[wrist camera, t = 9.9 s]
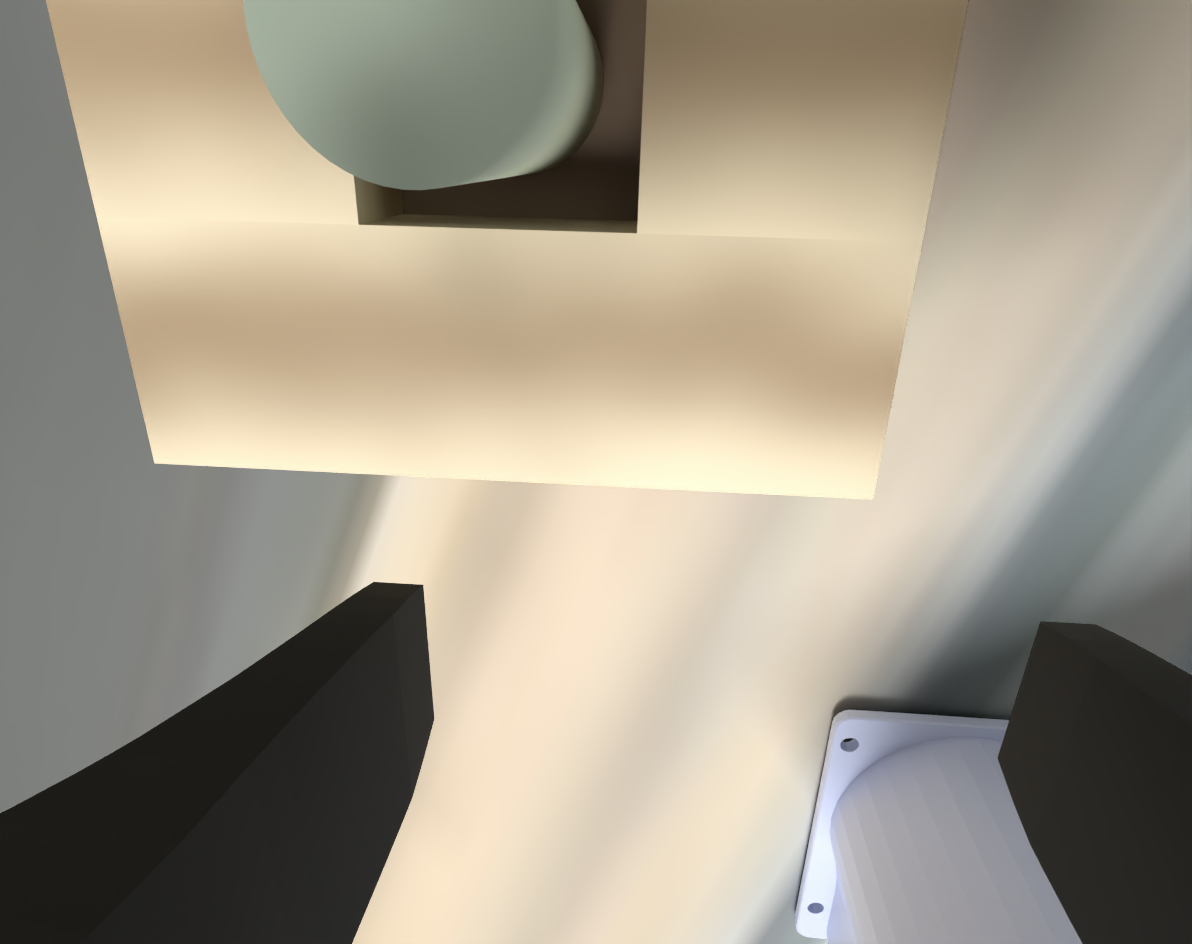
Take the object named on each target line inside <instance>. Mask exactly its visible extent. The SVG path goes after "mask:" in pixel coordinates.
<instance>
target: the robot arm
mask: <svg viewBox="0 0 1192 944" xmlns="http://www.w3.org/2000/svg"><path fill="white" fill-rule="evenodd" d="M433 721H434V711H433V699H432V687H431V675H430V663H429V651H428V639H427V627H426V615H425V603H424V591H423V585H414V584H397V583H380V582H373V583H371V584H370V585H368V586H367V587H365V588H363V589H362V590H360V591H359V592H357V593H355V594H354V595H352V596H351V597H350V598H348V599H347V600H345V601H344V602H342V603H341V604H339V605H338V606H336V607H335V608H334V609H332V610H331V611H329V612H328V613H326V614H325V615H324V616H322V617H321V618H319V619H318V620H316V621H315V622H314V623H312V624H311V625H309V626H308V627H306V628H305V629H304V630H302V631H301V632H299V633H298V634H296V635H295V636H294V637H292V638H291V639H289V640H288V641H286V642H285V643H283V644H282V645H280V646H279V647H278V648H276V649H275V650H273V651H272V652H270V653H269V654H267V655H266V656H264V657H263V658H262V659H260V660H259V661H257V662H256V663H254V664H253V665H251V666H250V667H248V668H247V669H246V670H244V671H243V672H241V673H240V674H238V675H237V676H235V677H234V678H232V679H231V680H229V681H227V682H226V683H224V684H223V685H221V686H220V687H218V688H216V689H215V690H213V691H212V692H210V693H208V694H207V695H205V696H204V697H202V698H200V699H199V700H197V701H196V702H194V703H193V704H191V705H189V706H188V707H186V708H185V709H183V710H181V711H180V712H178V713H177V714H175V715H174V716H172V717H170V718H169V719H167V720H166V721H164V722H162V723H161V724H159V725H158V726H156V727H154V728H153V729H151V730H150V731H148V732H147V733H145V734H143V735H142V736H140V737H138V738H137V739H135V740H133V741H132V742H130V743H128V744H127V745H125V746H123V747H121V748H120V749H118V750H116V751H115V752H113V753H111V754H109V755H108V756H106V757H104V758H102V759H101V760H99V761H97V762H95V763H93V764H92V765H90V766H88V767H86V768H85V769H83V770H81V771H79V772H77V773H76V774H74V775H72V776H70V777H68V778H66V779H64V780H62V781H61V782H59V783H57V784H55V785H53V786H51V787H49V788H48V789H46V790H44V791H42V792H40V793H38V794H36V795H34V796H33V797H31V798H29V799H27V800H25V801H23V802H21V803H20V804H18V805H16V806H14V807H12V808H10V809H8V810H6V811H4V812H2V813H0V944H352V942H353V940H354V937H355V935H356V932H357V930H358V928H359V925H360V923H361V920H362V918H363V916H364V913H365V911H366V909H367V906H368V904H369V901H370V899H371V897H372V894H373V892H374V889H375V887H376V885H377V882H378V880H379V877H380V875H381V873H382V870H383V868H384V865H385V863H386V861H387V858H388V856H389V853H390V851H391V848H392V846H393V844H394V841H395V839H396V836H397V834H398V831H399V829H400V827H401V824H402V822H403V819H404V817H405V814H406V812H407V809H408V807H409V804H410V802H411V799H412V796H413V793H414V790H415V786H416V783H417V779H418V776H419V772H420V769H421V766H422V762H423V759H424V755H425V751H426V747H427V744H428V740H429V736H430V732H431V729H432V725H433ZM846 738H854V739H853V740H851V741H849V742H843V740H845V739H846ZM795 924H796V930H797V931H798V932H799V933H800V934H801V935H803V936H806V937H811V938H823V939H827V941H828V944H1192V675H1190V674H1188V673H1187V672H1185V671H1183V670H1181V669H1180V668H1178V667H1176V666H1174V665H1172V664H1171V663H1169V662H1167V661H1165V660H1163V659H1162V658H1160V657H1158V656H1156V655H1154V654H1153V653H1151V652H1149V651H1147V650H1145V649H1144V648H1142V647H1140V646H1138V645H1136V644H1134V643H1132V642H1130V641H1128V640H1126V639H1125V638H1123V637H1121V636H1119V635H1117V634H1115V633H1112V632H1110V631H1108V630H1106V629H1104V628H1102V627H1100V626H1097V625H1092V624H1075V623H1058V622H1041V621H1040V624H1039V628H1038V631H1037V634H1036V637H1035V640H1034V643H1033V647H1032V650H1031V653H1030V656H1029V659H1028V662H1027V666H1026V669H1025V672H1024V675H1023V678H1022V681H1021V685H1020V688H1019V691H1018V694H1017V697H1016V700H1015V704H1014V707H1013V710H1012V713H1011V716H1010V720H1000V719H985V718H970V717H955V716H940V715H925V714H910V713H895V712H880V711H865V710H845V711H842V712H840V713H838V714H837V715H836V716H835V717H834V719H833V721H832V726H831V731H830V736H829V741H828V746H827V751H826V757H825V762H824V767H823V772H822V777H821V783H820V788H819V793H818V798H817V803H816V809H815V814H814V819H813V824H812V829H811V834H810V840H809V845H808V850H807V855H806V860H805V866H804V871H803V876H802V881H801V886H800V891H799V897H798V902H797V907H796V912H795Z"/></svg>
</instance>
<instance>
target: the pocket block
mask: <svg viewBox="0 0 1192 944" xmlns="http://www.w3.org/2000/svg"><path fill="white" fill-rule="evenodd" d="M576 2H577V4H578V6H579V8H580V10H581V12H582V14H583V16H584V18H585V20H586V22H587V24H588V26H589V28H590V30H591V32H592V34H593V36H594V38H595V40H596V43H597V46H598V49H599V52H600V56H601V61H602V66H603V77H604V81H603V96H602V103H601V107H600V111H599V114H598V117H597V120H596V122H595V125H594V127H593V129H592V130H591V132H590V134H589V136H588V137H587V139H586V140H585V141H584V143H583V144H582V146H581V147H580V148H579V149H578V150H577V151H576V152H575V153H574V154H573V155H572V156H570V157H569V158H568V159H567V160H565V161H564V162H562V163H560V164H559V165H557V166H555V167H553V168H550V169H548V170H545V171H542V172H538V173H533V174H526V175H520V176H514V177H507V178H501V179H495V180H488V181H482V182H476V183H469V184H463V185H457V186H450V187H444V188H437V189H428V190H402V189H396V188H390V187H384V186H381V185H378V184H374V183H371V182H368V181H365V180H363V179H361V178H358V177H356V176H354V175H352V174H350V173H348V172H346V171H344V170H343V169H341V168H339V167H338V166H336V165H335V164H333V163H331V162H330V161H328V160H327V159H326V158H325V157H323V156H322V155H321V154H320V153H318V152H317V151H316V150H315V149H313V148H312V147H311V146H310V145H309V144H308V143H307V142H306V141H305V140H304V139H303V138H302V137H301V136H300V135H299V134H298V133H297V131H296V130H295V129H294V128H293V126H292V125H291V124H290V122H289V121H288V120H287V119H286V117H285V116H284V115H283V113H282V112H281V110H280V109H279V107H278V105H277V104H276V102H275V101H274V99H273V97H272V96H271V94H270V92H269V90H268V88H267V86H266V84H265V82H264V80H263V78H262V76H261V73H260V71H259V68H258V65H257V63H256V60H255V57H254V54H253V52H252V48H251V44H250V40H249V36H248V32H247V27H246V20H245V13H244V6H243V0H46V3H47V7H48V11H49V16H50V20H51V24H52V28H53V33H54V37H55V41H56V45H57V50H58V54H59V58H60V62H61V67H62V71H63V75H64V79H65V84H66V88H67V92H68V97H69V101H70V105H71V109H72V114H73V118H74V122H75V126H76V131H77V135H78V139H79V143H80V148H81V152H82V156H83V160H84V165H85V169H86V173H87V177H88V182H89V186H90V190H91V194H92V199H93V203H94V207H95V211H96V216H97V220H98V224H99V229H100V233H101V237H102V241H103V246H104V250H105V254H106V258H107V263H108V267H109V271H110V275H111V280H112V284H113V288H114V292H115V297H116V301H117V305H118V309H119V314H120V318H121V322H122V326H123V331H124V335H125V339H126V344H127V348H128V352H129V356H130V361H131V365H132V369H133V373H134V378H135V382H136V386H137V390H138V395H139V399H140V403H141V407H142V412H143V416H144V420H145V424H146V429H147V433H148V437H149V441H150V446H151V450H152V454H153V458H154V463H159V464H178V465H198V466H218V467H238V468H257V469H277V470H297V471H317V472H337V473H356V474H376V475H396V476H416V477H435V478H455V479H475V480H495V481H515V482H534V483H554V484H574V485H594V486H613V487H633V488H653V489H673V490H693V491H712V492H732V493H752V494H772V495H791V496H811V497H831V498H851V499H870V500H873V498H874V493H875V487H876V482H877V477H878V472H879V466H880V461H881V456H882V451H883V446H884V440H885V435H886V430H887V425H888V419H889V414H890V409H891V404H892V399H893V393H894V388H895V383H896V378H897V373H898V367H899V362H900V357H901V352H902V346H903V341H904V336H905V331H906V326H907V320H908V315H909V310H910V305H911V299H912V294H913V289H914V284H915V279H916V273H917V268H918V263H919V258H920V253H921V247H922V242H923V237H924V232H925V226H926V221H927V216H928V211H929V206H930V200H931V195H932V190H933V185H934V180H935V174H936V169H937V164H938V159H939V153H940V148H941V143H942V138H943V133H944V127H945V122H946V117H947V112H948V106H949V101H950V96H951V91H952V86H953V80H954V75H955V70H956V65H957V60H958V54H959V49H960V44H961V39H962V33H963V28H964V23H965V18H966V13H967V7H968V2H969V0H576Z"/></svg>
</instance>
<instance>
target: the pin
mask: <svg viewBox="0 0 1192 944" xmlns="http://www.w3.org/2000/svg"><path fill="white" fill-rule="evenodd" d="M243 6H244V13H245V20H246V27H247V32H248V36H249V40H250V44H251V48H252V52H253V54H254V57H255V60H256V63H257V65H258V68H259V71H260V73H261V76H262V78H263V80H264V82H265V84H266V86H267V88H268V90H269V92H270V94H271V96H272V97H273V99H274V101H275V102H276V104H277V105H278V107H279V109H280V110H281V112H282V113H283V115H284V116H285V117H286V119H287V120H288V121H289V122H290V124H291V125H292V126H293V128H294V129H295V130H296V131H297V133H298V134H299V135H300V136H301V137H302V138H303V139H304V140H305V141H306V142H307V143H308V144H309V145H310V146H311V147H312V148H313V149H315V150H316V151H317V152H318V153H320V154H321V155H322V156H323V157H325V158H326V159H327V160H328V161H330V162H331V163H333V164H335V165H336V166H338V167H339V168H341V169H343V170H344V171H346V172H348V173H350V174H352V175H354V176H356V177H358V178H361V179H363V180H365V181H368V182H371V183H374V184H378V185H381V186H384V187H390V188H396V189H402V190H428V189H437V188H444V187H450V186H457V185H463V184H469V183H476V182H482V181H488V180H495V179H501V178H507V177H514V176H520V175H526V174H533V173H538V172H542V171H545V170H548V169H550V168H553V167H555V166H557V165H559V164H560V163H562V162H564V161H565V160H567V159H568V158H569V157H570V156H572V155H573V154H574V153H575V152H576V151H577V150H578V149H579V148H580V147H581V146H582V144H583V143H584V141H585V140H586V139H587V137H588V136H589V134H590V132H591V130H592V129H593V127H594V125H595V122H596V120H597V117H598V114H599V111H600V107H601V103H602V96H603V81H604V77H603V66H602V61H601V56H600V52H599V49H598V46H597V43H596V40H595V38H594V36H593V34H592V32H591V30H590V28H589V26H588V24H587V22H586V20H585V18H584V16H583V14H582V12H581V10H580V8H579V6H578V4H577V2H576V0H243Z"/></svg>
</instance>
